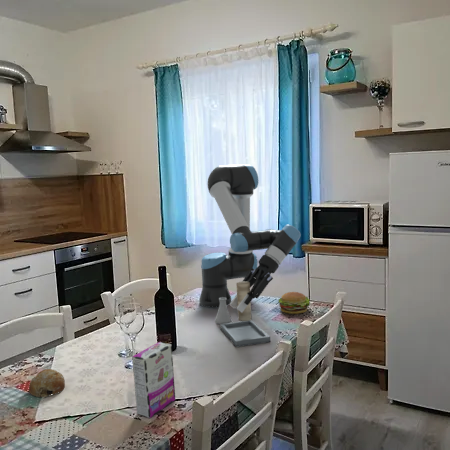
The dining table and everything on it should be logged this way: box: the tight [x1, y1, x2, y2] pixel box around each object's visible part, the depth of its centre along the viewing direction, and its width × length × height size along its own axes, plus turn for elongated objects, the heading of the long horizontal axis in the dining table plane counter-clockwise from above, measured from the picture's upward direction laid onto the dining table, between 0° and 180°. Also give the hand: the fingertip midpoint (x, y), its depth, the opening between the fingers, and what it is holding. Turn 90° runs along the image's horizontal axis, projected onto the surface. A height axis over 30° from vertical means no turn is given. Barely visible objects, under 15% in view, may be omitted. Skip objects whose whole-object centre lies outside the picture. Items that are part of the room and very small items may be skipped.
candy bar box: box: [131, 341, 176, 419], centre depth 127 cm, size 11×5×16 cm, turn 148°
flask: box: [214, 298, 233, 325], centre depth 195 cm, size 7×7×10 cm
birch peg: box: [235, 280, 252, 322], centre depth 177 cm, size 5×5×14 cm
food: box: [277, 291, 310, 315], centre depth 206 cm, size 14×14×8 cm
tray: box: [220, 319, 271, 348], centre depth 179 cm, size 20×13×2 cm, turn 17°
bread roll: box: [28, 368, 66, 398], centre depth 140 cm, size 10×10×8 cm
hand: (235, 308), depth 175 cm, fingers closed on birch peg, 5 cm apart
